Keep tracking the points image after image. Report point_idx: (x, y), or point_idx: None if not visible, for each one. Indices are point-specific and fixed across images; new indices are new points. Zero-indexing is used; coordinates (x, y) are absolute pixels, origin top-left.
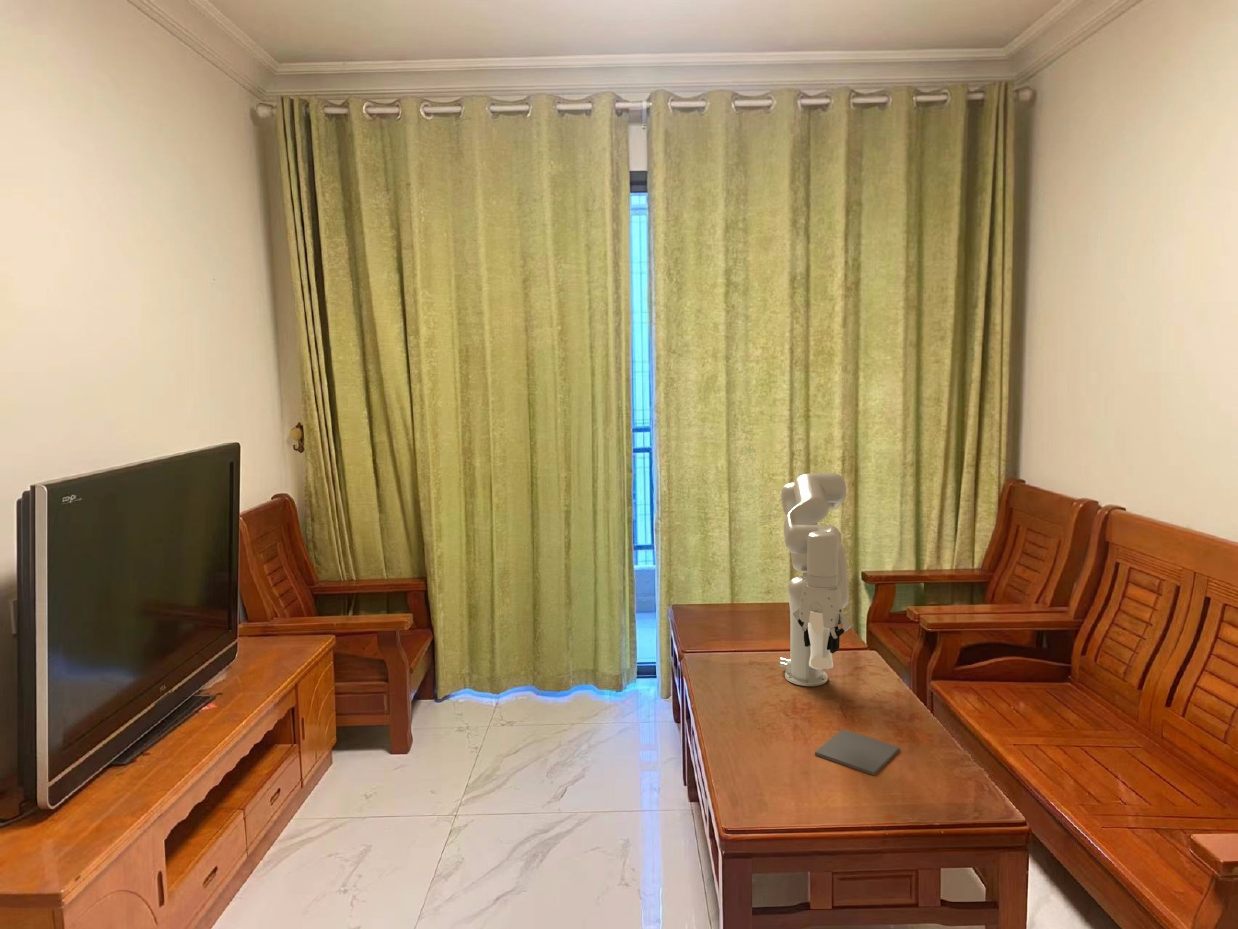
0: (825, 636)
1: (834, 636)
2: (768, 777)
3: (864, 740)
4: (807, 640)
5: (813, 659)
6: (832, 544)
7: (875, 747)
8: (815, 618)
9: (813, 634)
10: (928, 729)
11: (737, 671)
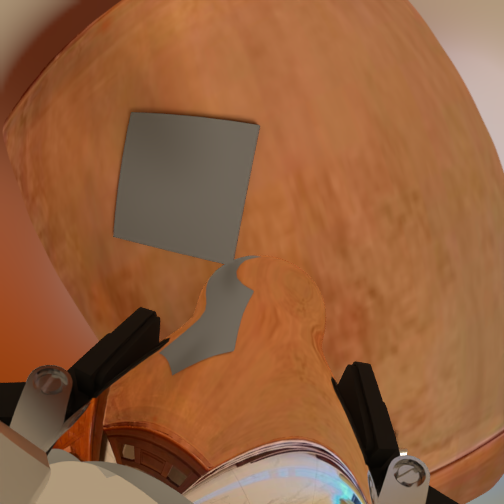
0: (116, 378)
1: (54, 384)
2: (316, 10)
3: (174, 233)
4: (356, 396)
5: (289, 287)
6: None
7: (148, 212)
8: None
9: (269, 392)
10: None
11: (470, 408)
